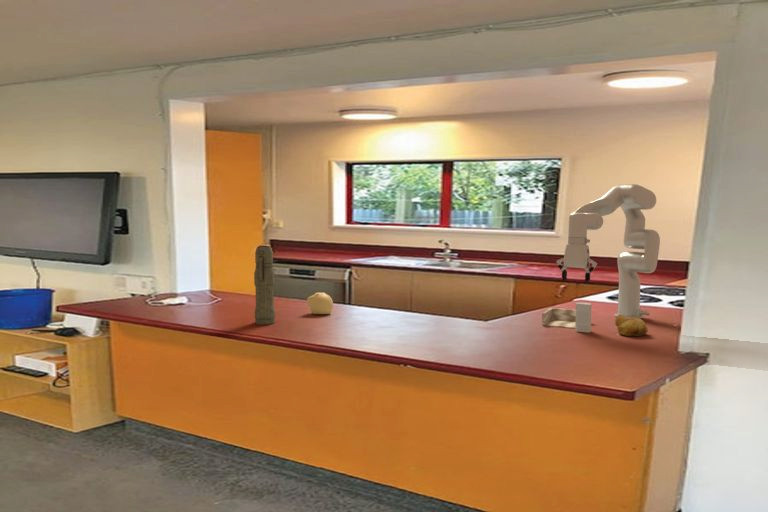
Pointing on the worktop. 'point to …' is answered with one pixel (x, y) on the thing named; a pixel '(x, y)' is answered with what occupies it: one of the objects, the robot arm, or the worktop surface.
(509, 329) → the worktop surface
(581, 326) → the skincare box
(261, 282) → the grey stone statue
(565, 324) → the corner tray
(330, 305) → the pale yellow round lump
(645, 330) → the bread roll
